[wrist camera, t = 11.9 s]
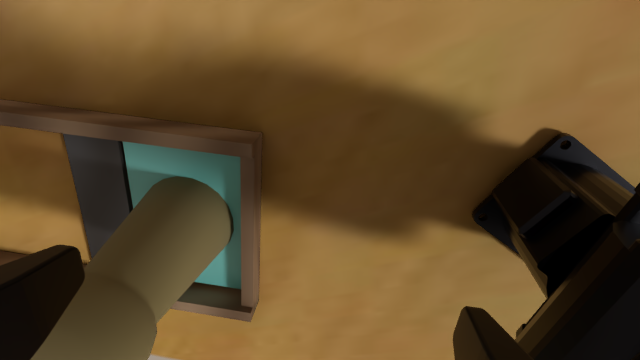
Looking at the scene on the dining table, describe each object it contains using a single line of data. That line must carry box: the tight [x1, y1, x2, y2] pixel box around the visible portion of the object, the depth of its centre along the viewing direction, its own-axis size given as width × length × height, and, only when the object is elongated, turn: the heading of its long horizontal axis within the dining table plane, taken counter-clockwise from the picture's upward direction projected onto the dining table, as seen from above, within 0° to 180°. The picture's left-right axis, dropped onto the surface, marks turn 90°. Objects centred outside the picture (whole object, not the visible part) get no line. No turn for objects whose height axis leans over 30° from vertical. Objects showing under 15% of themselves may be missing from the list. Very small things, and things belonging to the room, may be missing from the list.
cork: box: [31, 176, 234, 360], centre depth 18 cm, size 6×6×11 cm
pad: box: [123, 142, 241, 289], centre depth 24 cm, size 7×10×1 cm
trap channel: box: [0, 99, 262, 322], centre depth 24 cm, size 26×13×2 cm, turn 85°
